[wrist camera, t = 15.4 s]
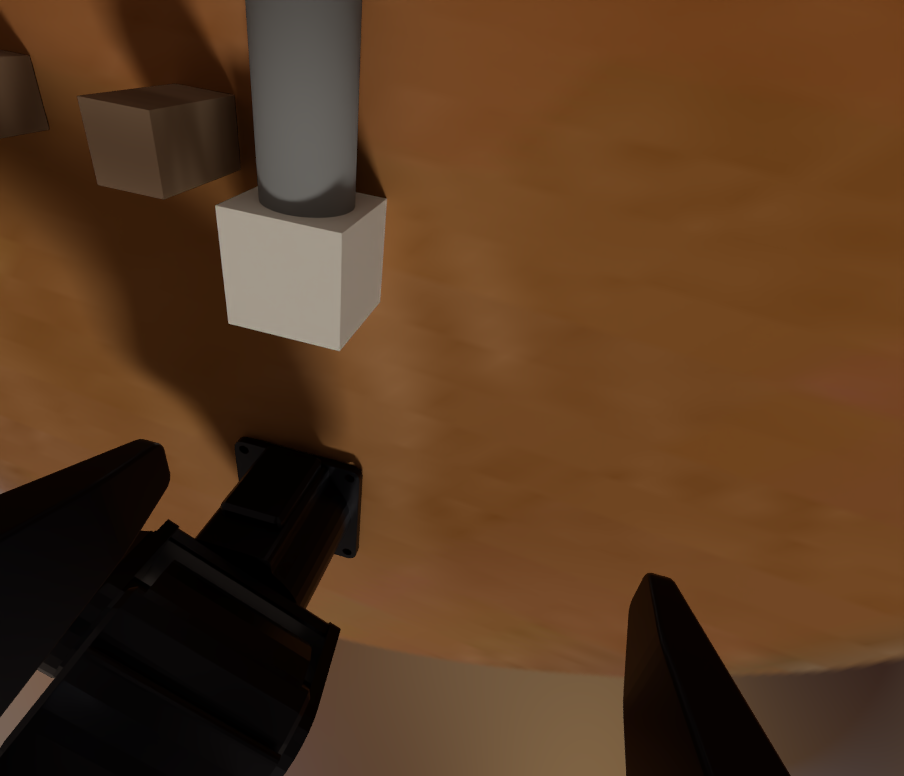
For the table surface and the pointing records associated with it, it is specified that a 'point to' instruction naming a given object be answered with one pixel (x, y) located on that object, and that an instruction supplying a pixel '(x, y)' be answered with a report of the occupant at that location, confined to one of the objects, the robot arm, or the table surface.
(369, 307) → the square-ended dumbbell
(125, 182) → the dark brown block
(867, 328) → the table surface
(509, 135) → the table surface
